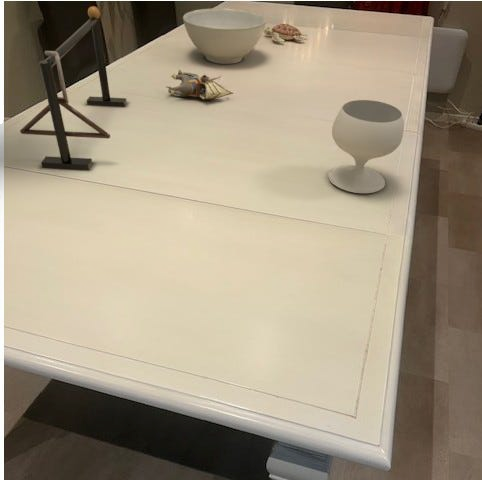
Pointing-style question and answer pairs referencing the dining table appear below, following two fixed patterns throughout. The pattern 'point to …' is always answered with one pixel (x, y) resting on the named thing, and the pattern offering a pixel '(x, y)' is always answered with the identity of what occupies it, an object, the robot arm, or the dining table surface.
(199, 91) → the figurine
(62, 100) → the hanger
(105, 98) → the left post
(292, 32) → the decorative turtle
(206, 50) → the decorative bowl
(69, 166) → the rail
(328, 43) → the dining table surface
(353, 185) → the chalice
